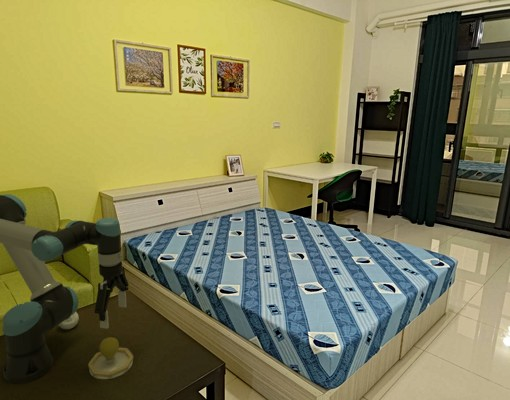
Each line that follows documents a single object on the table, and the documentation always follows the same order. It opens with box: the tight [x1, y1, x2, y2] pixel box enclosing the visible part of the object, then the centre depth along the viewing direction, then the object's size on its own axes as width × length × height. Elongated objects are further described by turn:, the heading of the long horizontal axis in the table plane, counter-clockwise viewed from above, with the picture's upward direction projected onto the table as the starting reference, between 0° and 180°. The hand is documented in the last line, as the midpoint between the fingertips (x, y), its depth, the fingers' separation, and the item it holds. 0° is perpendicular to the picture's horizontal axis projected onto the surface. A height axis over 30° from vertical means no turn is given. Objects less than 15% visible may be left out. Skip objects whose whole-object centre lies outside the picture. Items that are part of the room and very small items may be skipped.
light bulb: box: [98, 336, 120, 365], centre depth 130 cm, size 7×7×10 cm
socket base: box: [87, 346, 134, 380], centre depth 131 cm, size 15×15×2 cm
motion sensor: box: [58, 311, 80, 330], centre depth 151 cm, size 8×8×8 cm
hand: (114, 316), depth 129 cm, fingers open, 13 cm apart
